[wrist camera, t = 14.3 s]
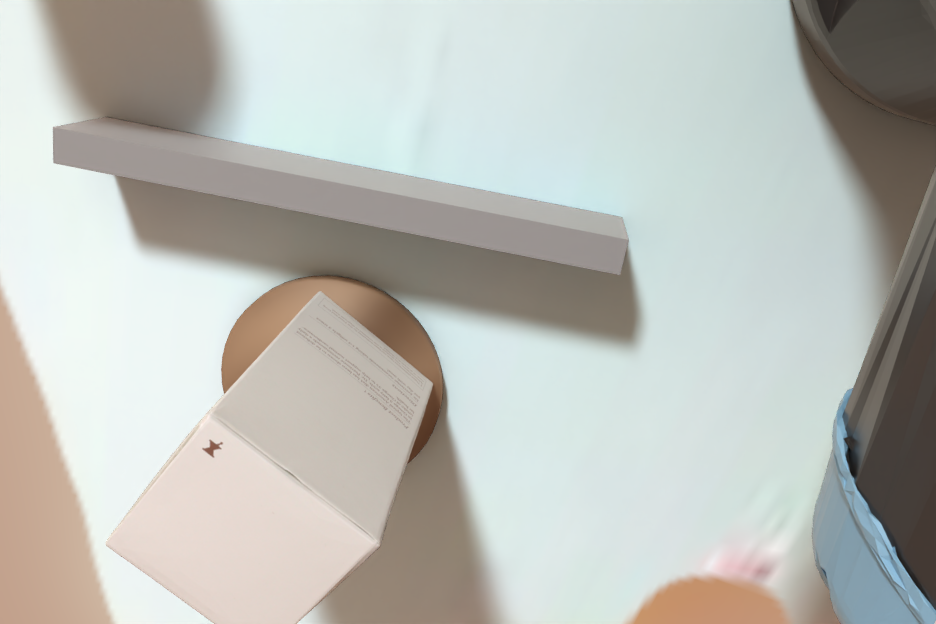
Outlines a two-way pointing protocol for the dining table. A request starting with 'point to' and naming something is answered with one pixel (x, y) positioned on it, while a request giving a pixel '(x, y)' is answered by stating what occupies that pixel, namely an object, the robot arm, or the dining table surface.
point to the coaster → (357, 301)
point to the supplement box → (282, 475)
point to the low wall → (345, 192)
